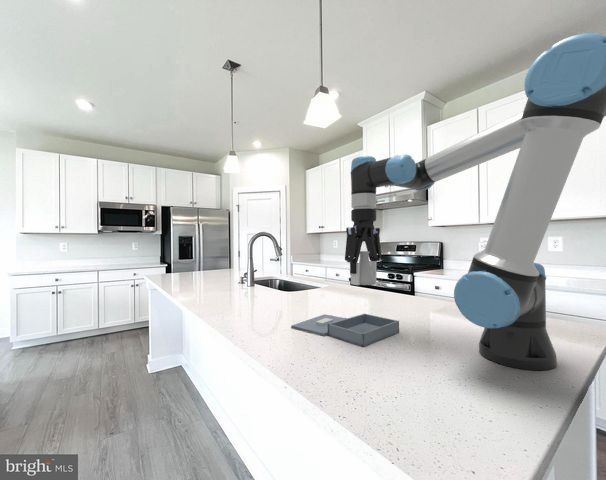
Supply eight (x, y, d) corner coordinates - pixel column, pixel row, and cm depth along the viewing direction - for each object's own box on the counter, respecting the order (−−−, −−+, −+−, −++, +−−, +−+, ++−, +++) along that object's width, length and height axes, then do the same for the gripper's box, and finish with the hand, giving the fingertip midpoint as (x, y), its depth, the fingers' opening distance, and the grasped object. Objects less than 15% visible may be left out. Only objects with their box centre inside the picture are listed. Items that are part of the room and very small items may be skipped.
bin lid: (355, 322, 103) (355, 317, 103) (324, 336, 89) (324, 331, 89) (324, 316, 112) (324, 312, 112) (291, 328, 98) (291, 323, 98)
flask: (374, 282, 94) (374, 250, 94) (378, 286, 86) (377, 252, 86) (351, 282, 94) (351, 250, 94) (353, 285, 87) (352, 252, 87)
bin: (399, 332, 91) (399, 321, 91) (363, 347, 79) (362, 334, 79) (364, 323, 101) (364, 313, 101) (327, 335, 89) (327, 324, 89)
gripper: (373, 211, 100) (373, 278, 100) (331, 207, 86) (332, 285, 87) (393, 209, 94) (393, 280, 94) (351, 205, 81) (351, 288, 81)
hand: (364, 283), depth 91 cm, fingers closed on flask, 8 cm apart
